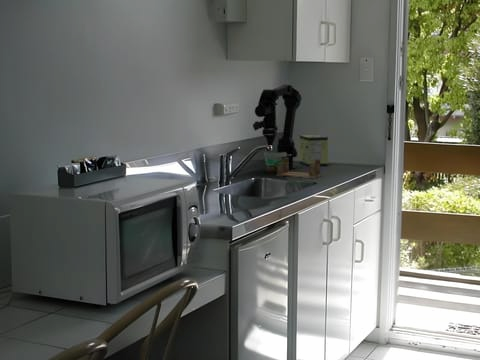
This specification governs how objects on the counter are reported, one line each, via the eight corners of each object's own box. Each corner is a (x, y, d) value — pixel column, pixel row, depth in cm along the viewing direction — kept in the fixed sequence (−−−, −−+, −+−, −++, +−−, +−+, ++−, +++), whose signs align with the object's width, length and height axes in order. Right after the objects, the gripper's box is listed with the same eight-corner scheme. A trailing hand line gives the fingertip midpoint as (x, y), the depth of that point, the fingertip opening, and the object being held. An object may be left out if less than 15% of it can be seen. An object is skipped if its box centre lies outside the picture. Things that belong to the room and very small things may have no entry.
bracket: (285, 173, 360) (285, 157, 359) (321, 175, 351) (321, 159, 350) (276, 176, 351) (276, 159, 350) (312, 178, 342) (313, 161, 341)
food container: (259, 172, 366) (259, 152, 364) (264, 170, 371) (264, 150, 369) (281, 173, 360) (281, 153, 358) (286, 172, 365) (287, 152, 364)
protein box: (317, 162, 401) (317, 134, 399) (327, 166, 387) (328, 137, 384) (299, 163, 399) (299, 135, 396) (309, 167, 384) (309, 137, 381)
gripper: (255, 113, 367) (255, 144, 370) (251, 117, 349) (252, 149, 352) (277, 113, 366) (277, 144, 369) (275, 117, 348) (275, 149, 350)
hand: (270, 146), depth 360 cm, fingers open, 9 cm apart
